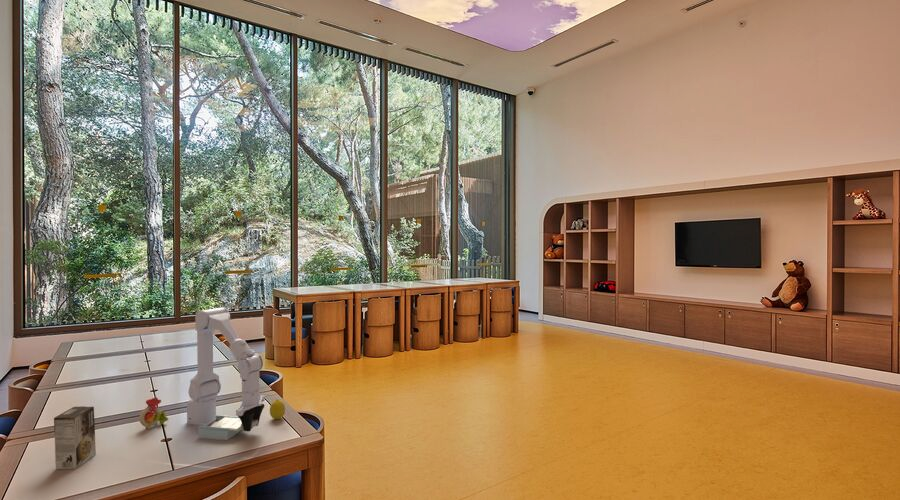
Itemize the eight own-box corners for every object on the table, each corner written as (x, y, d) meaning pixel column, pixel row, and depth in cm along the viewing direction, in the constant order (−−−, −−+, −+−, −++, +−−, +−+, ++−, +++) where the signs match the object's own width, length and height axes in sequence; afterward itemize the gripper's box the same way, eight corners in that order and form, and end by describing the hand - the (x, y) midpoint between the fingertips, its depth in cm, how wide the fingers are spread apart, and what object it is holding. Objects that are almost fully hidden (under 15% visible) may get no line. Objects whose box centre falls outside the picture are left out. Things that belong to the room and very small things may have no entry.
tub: (198, 439, 165) (198, 426, 165) (216, 427, 175) (216, 415, 175) (227, 441, 164) (227, 428, 163) (244, 429, 173) (244, 417, 173)
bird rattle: (154, 435, 173) (174, 417, 180) (141, 412, 168) (162, 394, 176) (142, 433, 175) (162, 415, 182) (129, 410, 170) (150, 392, 178)
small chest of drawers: (209, 428, 165) (209, 424, 165) (224, 419, 174) (224, 414, 174) (247, 431, 163) (247, 427, 163) (261, 421, 171) (261, 417, 171)
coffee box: (75, 455, 153) (73, 406, 152) (96, 454, 154) (95, 405, 153) (54, 469, 144) (52, 417, 143) (76, 469, 144) (75, 416, 144)
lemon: (280, 423, 179) (279, 402, 179) (266, 422, 180) (266, 401, 180) (287, 417, 184) (287, 397, 184) (274, 416, 185) (274, 396, 185)
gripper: (249, 398, 159) (249, 437, 160) (272, 384, 173) (272, 420, 174) (230, 396, 160) (230, 436, 161) (254, 383, 174) (254, 419, 175)
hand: (251, 428), depth 167 cm, fingers closed on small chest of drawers, 4 cm apart
